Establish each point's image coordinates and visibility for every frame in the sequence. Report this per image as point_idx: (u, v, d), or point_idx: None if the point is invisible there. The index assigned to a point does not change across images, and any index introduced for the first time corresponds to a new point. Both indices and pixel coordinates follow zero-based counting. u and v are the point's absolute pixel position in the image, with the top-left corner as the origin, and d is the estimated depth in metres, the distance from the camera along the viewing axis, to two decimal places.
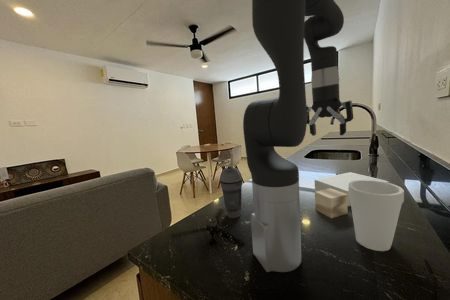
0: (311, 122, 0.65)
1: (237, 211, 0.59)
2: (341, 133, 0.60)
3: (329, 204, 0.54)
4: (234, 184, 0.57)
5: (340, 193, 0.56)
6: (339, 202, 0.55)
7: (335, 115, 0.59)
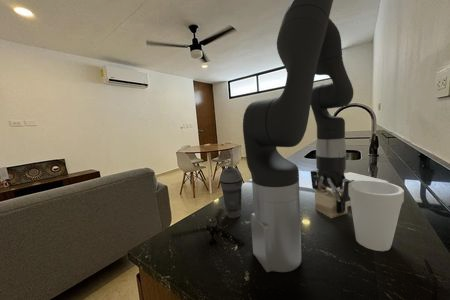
0: (318, 190, 0.60)
1: (237, 211, 0.59)
2: (337, 211, 0.54)
3: (329, 203, 0.54)
4: (234, 184, 0.57)
5: None
6: None
7: (333, 190, 0.54)
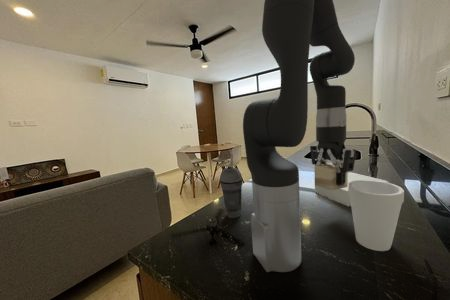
0: (318, 164, 0.59)
1: (237, 211, 0.59)
2: (337, 183, 0.53)
3: (329, 175, 0.53)
4: (234, 184, 0.57)
5: (340, 166, 0.55)
6: None
7: (333, 161, 0.53)
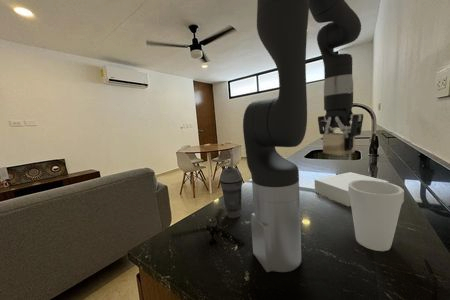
0: (326, 133, 0.62)
1: (237, 211, 0.59)
2: (345, 148, 0.56)
3: (337, 141, 0.56)
4: (234, 184, 0.57)
5: None
6: None
7: (341, 127, 0.55)
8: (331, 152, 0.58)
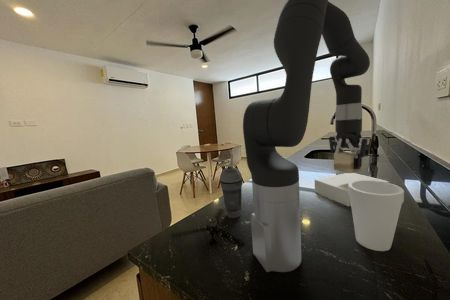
0: (336, 152, 0.69)
1: (237, 211, 0.59)
2: (354, 167, 0.63)
3: (347, 160, 0.63)
4: (234, 184, 0.57)
5: None
6: None
7: (351, 148, 0.62)
8: (342, 170, 0.65)
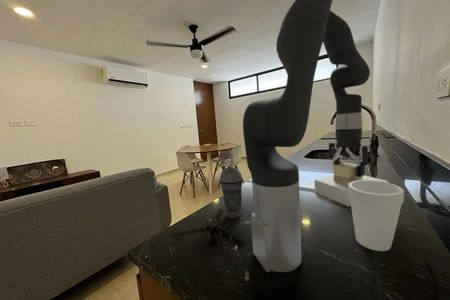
0: (334, 158, 0.70)
1: (237, 211, 0.59)
2: (357, 175, 0.62)
3: (347, 173, 0.63)
4: (234, 184, 0.57)
5: (356, 165, 0.65)
6: (355, 172, 0.64)
7: (352, 157, 0.62)
8: (341, 182, 0.66)
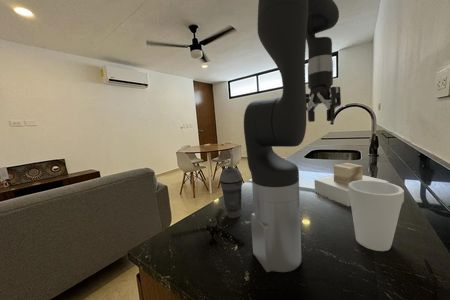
0: (308, 108, 0.70)
1: (237, 211, 0.59)
2: (327, 118, 0.62)
3: (347, 173, 0.63)
4: (234, 184, 0.57)
5: (356, 165, 0.65)
6: (355, 172, 0.64)
7: (323, 101, 0.62)
8: (341, 182, 0.66)
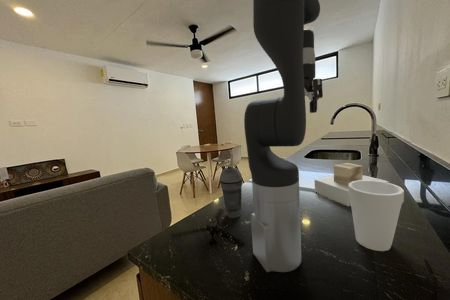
0: None
1: (237, 211, 0.59)
2: (310, 110, 0.63)
3: (347, 173, 0.63)
4: (234, 184, 0.57)
5: (356, 165, 0.65)
6: (355, 172, 0.64)
7: (305, 93, 0.63)
8: (341, 182, 0.66)
